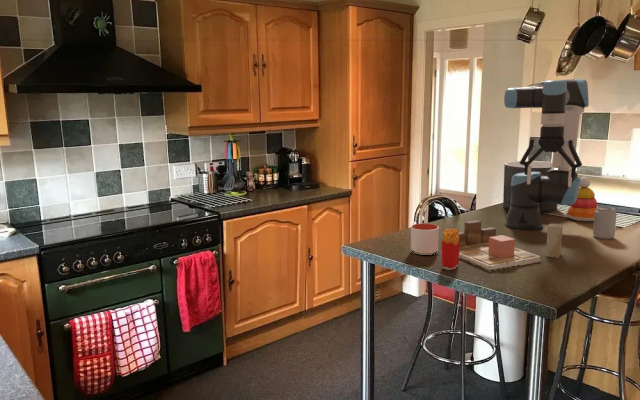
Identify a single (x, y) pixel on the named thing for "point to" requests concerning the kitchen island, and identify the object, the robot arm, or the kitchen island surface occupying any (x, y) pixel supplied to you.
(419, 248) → the cup
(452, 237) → the french fries
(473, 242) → the brown upright blocks
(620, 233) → the kitchen island surface
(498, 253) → the cube
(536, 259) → the lane board
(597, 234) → the can
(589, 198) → the stacking toy
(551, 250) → the box
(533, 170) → the planter
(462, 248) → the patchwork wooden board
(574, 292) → the kitchen island surface
